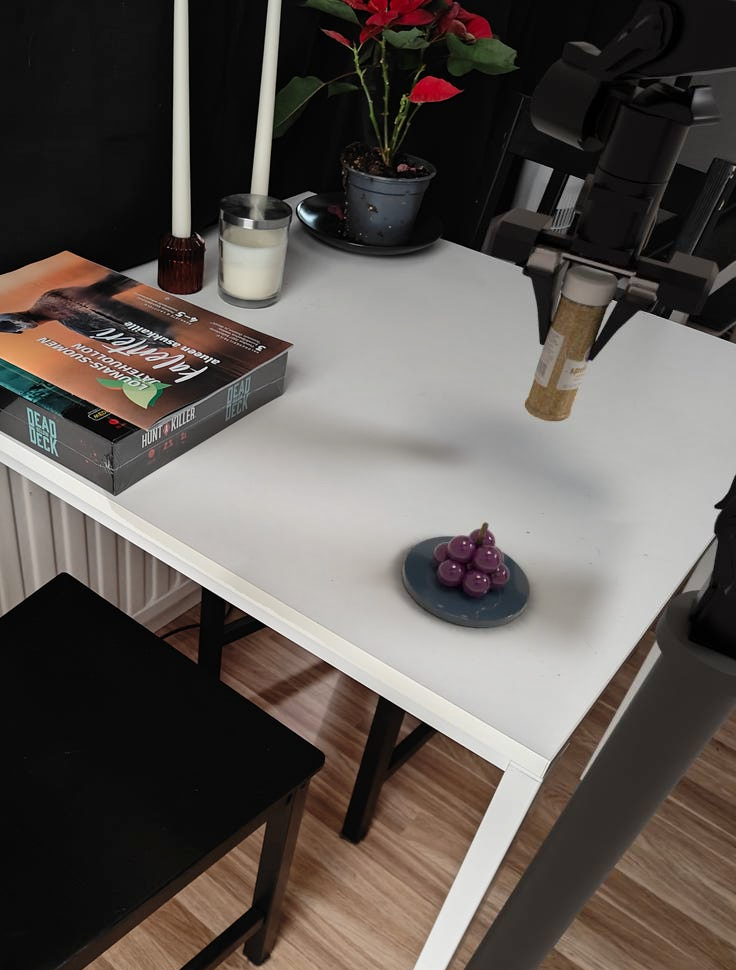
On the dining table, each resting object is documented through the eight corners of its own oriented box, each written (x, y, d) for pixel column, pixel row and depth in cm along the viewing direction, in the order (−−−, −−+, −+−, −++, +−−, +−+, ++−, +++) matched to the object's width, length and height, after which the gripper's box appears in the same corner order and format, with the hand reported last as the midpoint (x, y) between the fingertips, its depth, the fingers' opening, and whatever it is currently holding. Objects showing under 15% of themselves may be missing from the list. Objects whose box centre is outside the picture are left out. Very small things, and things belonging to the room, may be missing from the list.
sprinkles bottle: (567, 427, 86) (619, 289, 76) (520, 416, 86) (565, 277, 77) (570, 406, 89) (620, 270, 80) (525, 395, 90) (569, 259, 80)
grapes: (541, 572, 80) (567, 513, 76) (506, 646, 73) (532, 586, 68) (427, 527, 83) (445, 467, 78) (383, 594, 76) (400, 532, 71)
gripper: (762, 176, 75) (682, 350, 86) (548, 123, 80) (498, 293, 91) (747, 212, 68) (661, 397, 79) (512, 151, 73) (462, 332, 84)
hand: (567, 351), depth 83 cm, fingers closed on sprinkles bottle, 4 cm apart
